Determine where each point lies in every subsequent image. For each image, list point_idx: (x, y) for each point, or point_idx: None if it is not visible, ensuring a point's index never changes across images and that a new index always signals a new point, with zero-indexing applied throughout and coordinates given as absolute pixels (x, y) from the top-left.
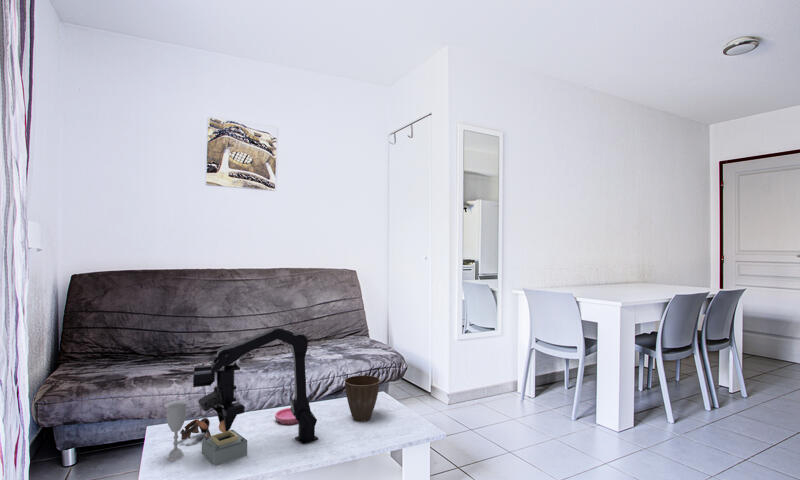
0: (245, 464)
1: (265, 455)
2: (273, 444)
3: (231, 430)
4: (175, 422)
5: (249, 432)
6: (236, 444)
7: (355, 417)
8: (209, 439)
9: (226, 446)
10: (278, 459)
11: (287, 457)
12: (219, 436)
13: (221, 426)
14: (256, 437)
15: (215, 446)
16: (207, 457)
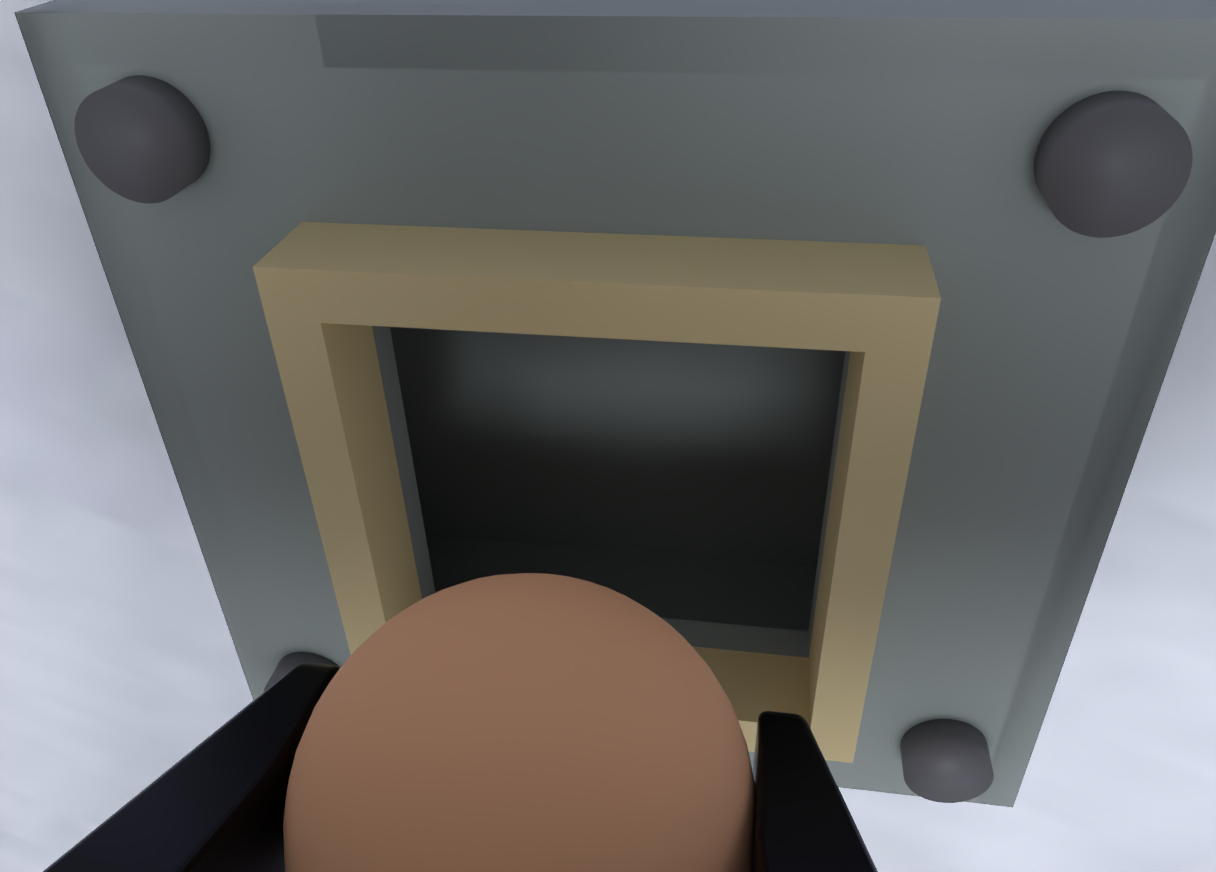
0: (60, 381)
1: (223, 655)
2: None
3: (940, 773)
4: None
5: (1138, 869)
6: (206, 534)
7: None
8: (954, 202)
9: (142, 347)
10: (39, 684)
11: (51, 752)
12: (841, 473)
13: (358, 728)
14: (870, 836)
15: (151, 108)
16: None
